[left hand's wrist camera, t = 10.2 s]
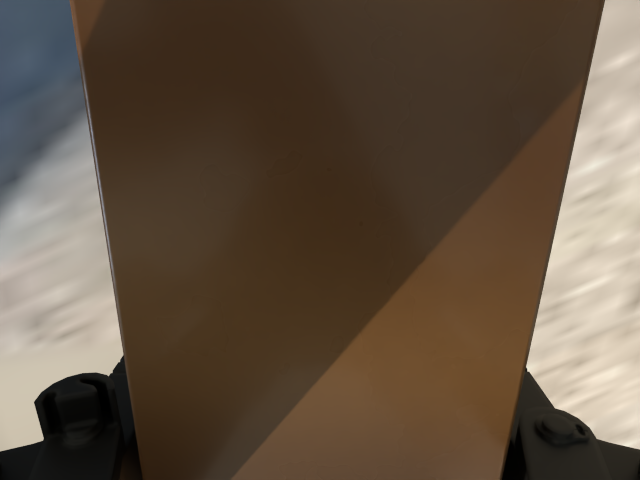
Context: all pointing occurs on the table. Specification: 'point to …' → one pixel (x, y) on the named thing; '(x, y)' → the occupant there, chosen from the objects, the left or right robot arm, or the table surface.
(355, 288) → the post
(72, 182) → the table surface
